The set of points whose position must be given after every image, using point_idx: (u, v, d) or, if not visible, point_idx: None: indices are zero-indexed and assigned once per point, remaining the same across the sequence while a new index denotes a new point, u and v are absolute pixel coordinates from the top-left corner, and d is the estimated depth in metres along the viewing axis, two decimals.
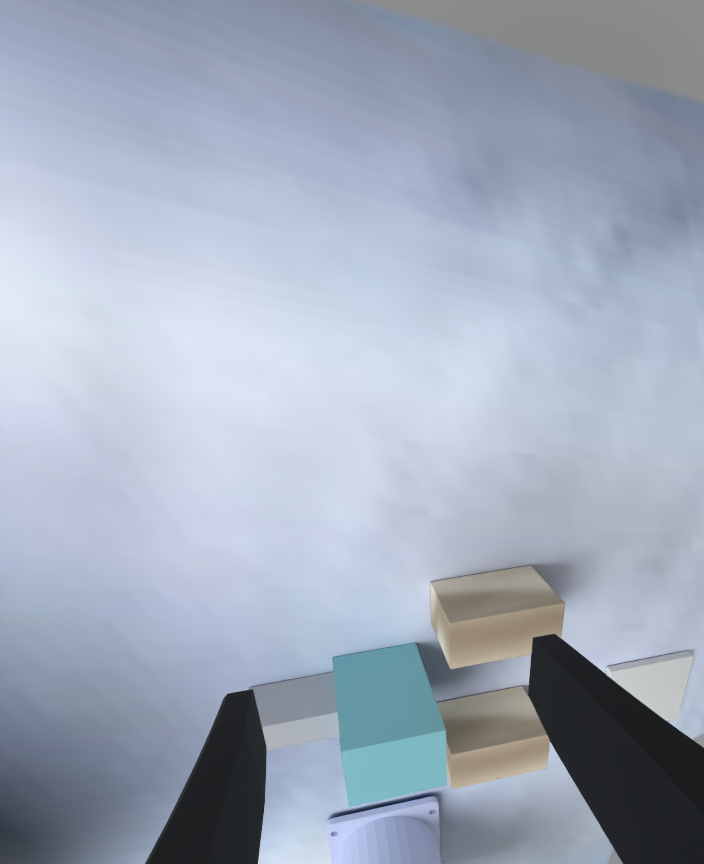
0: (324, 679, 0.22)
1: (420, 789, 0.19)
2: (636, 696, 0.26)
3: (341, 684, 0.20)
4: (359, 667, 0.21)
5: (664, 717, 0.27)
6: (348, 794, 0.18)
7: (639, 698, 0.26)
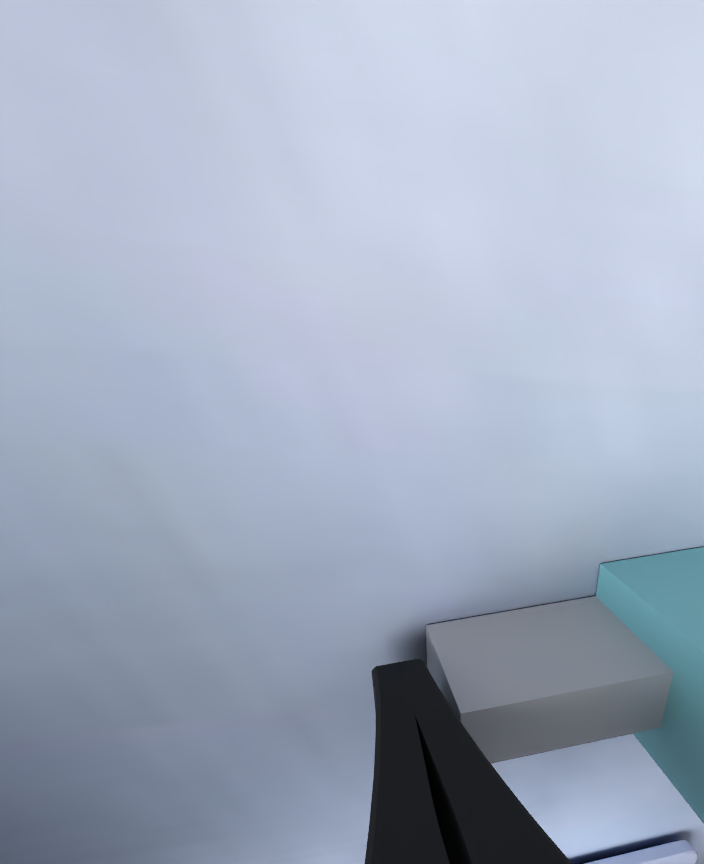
0: (585, 609, 0.10)
1: None
2: None
3: (670, 608, 0.09)
4: (680, 578, 0.10)
5: None
6: None
7: None
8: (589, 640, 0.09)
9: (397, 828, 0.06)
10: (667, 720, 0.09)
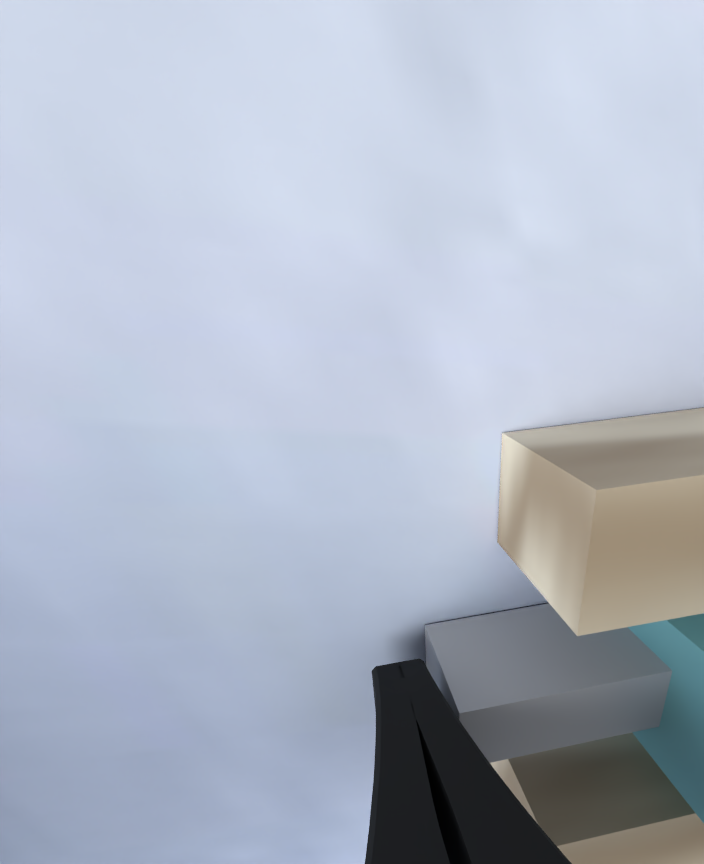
0: None
1: None
2: None
3: None
4: None
5: None
6: None
7: None
8: (588, 639, 0.09)
9: (398, 828, 0.06)
10: (666, 719, 0.09)
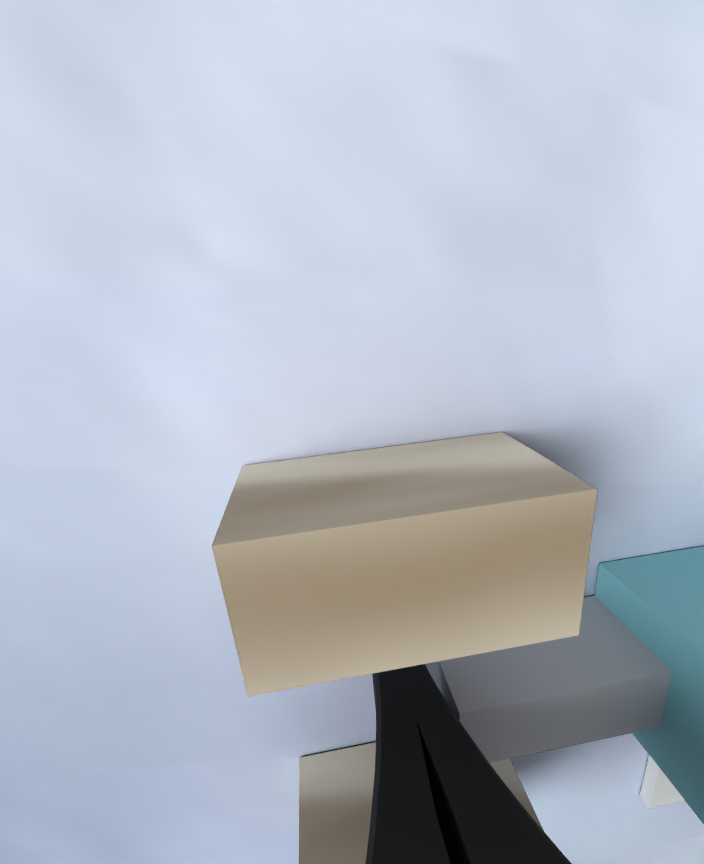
0: (584, 608, 0.10)
1: None
2: None
3: (668, 608, 0.09)
4: (679, 577, 0.10)
5: None
6: None
7: None
8: (588, 640, 0.09)
9: (398, 828, 0.06)
10: (666, 719, 0.09)
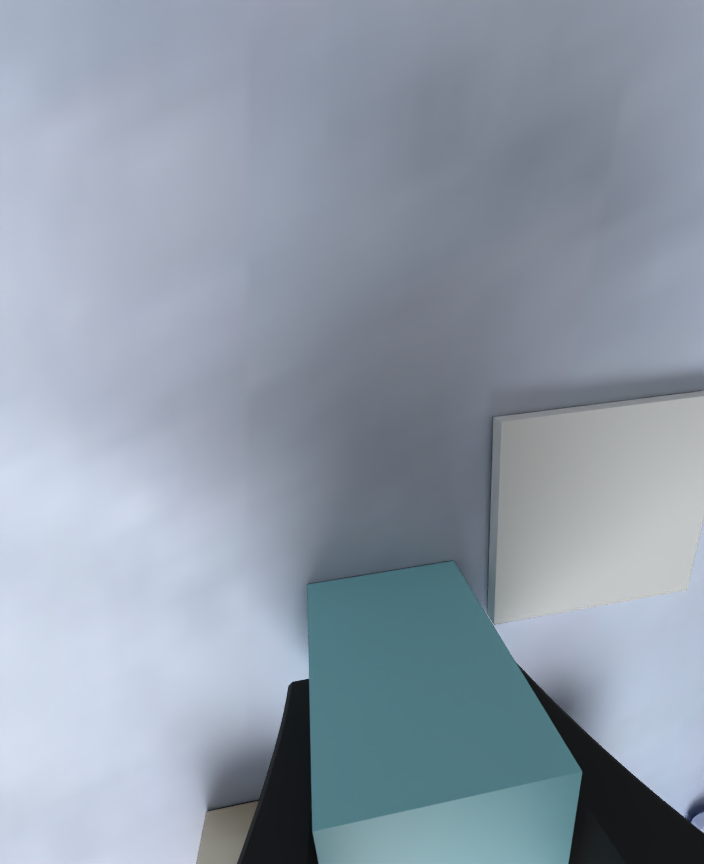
0: None
1: (571, 823, 0.06)
2: (596, 542, 0.10)
3: None
4: None
5: None
6: None
7: (606, 532, 0.10)
8: None
9: (265, 858, 0.06)
10: None
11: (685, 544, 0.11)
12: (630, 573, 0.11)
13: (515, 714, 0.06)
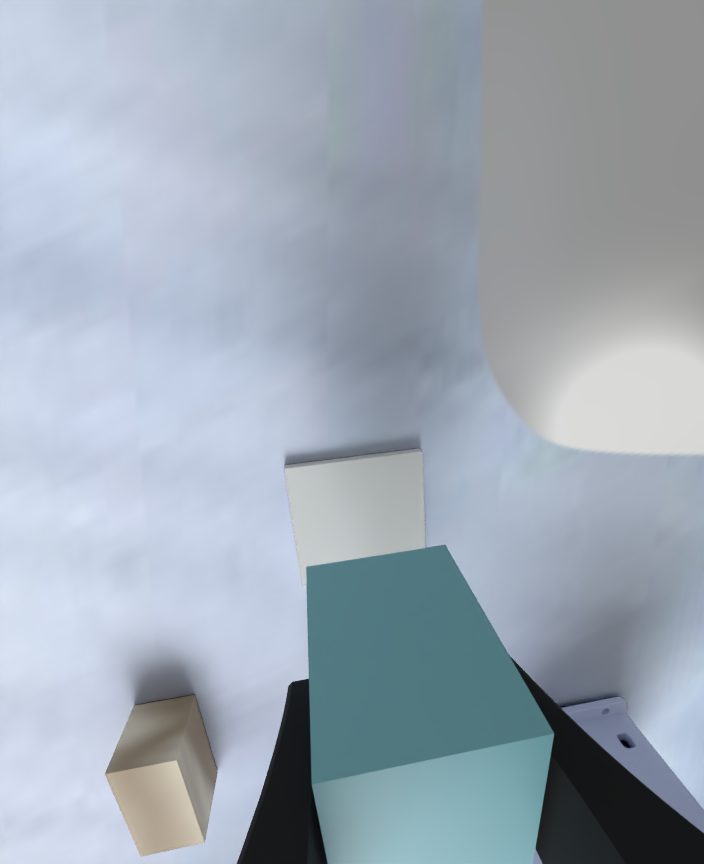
0: None
1: (544, 779, 0.07)
2: (357, 536, 0.17)
3: None
4: None
5: (414, 476, 0.17)
6: None
7: (362, 530, 0.17)
8: None
9: (266, 857, 0.06)
10: None
11: (417, 538, 0.18)
12: None
13: (496, 684, 0.07)
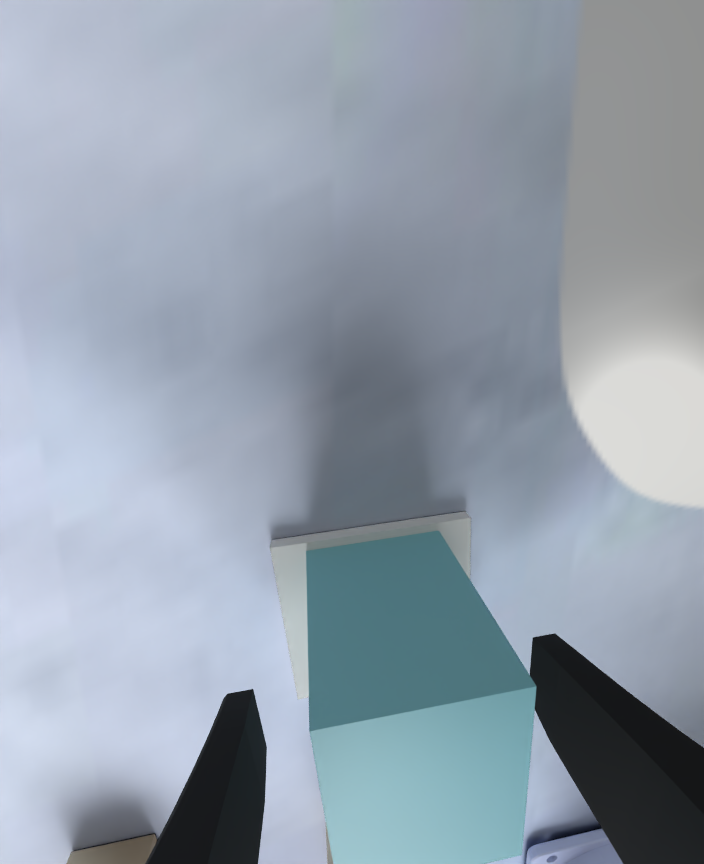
0: None
1: (530, 736, 0.07)
2: None
3: None
4: None
5: (457, 551, 0.12)
6: (480, 863, 0.08)
7: None
8: None
9: None
10: None
11: None
12: None
13: (484, 646, 0.07)
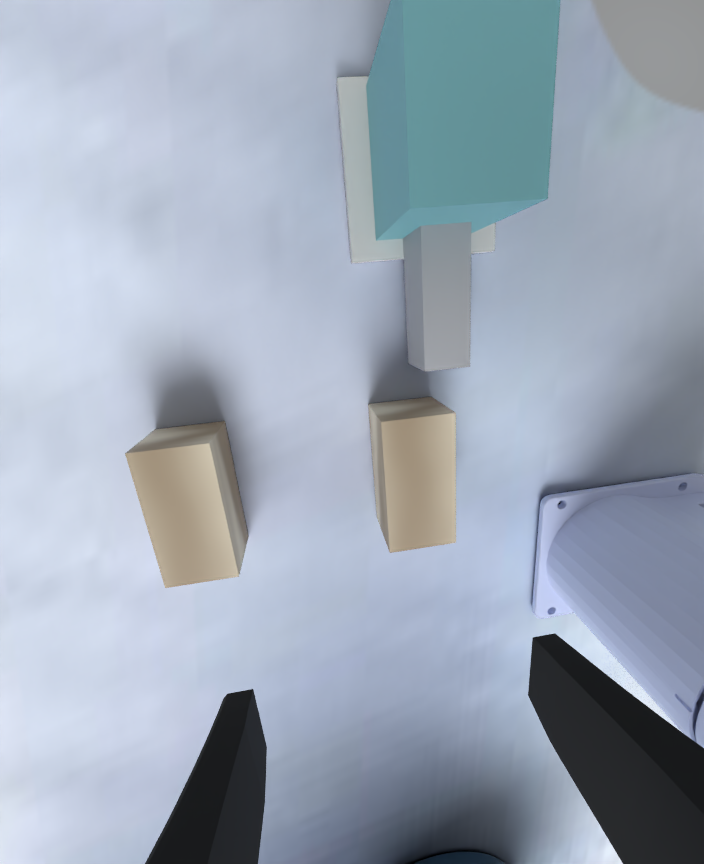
0: (405, 253, 0.15)
1: (557, 34, 0.10)
2: None
3: (384, 220, 0.13)
4: (377, 191, 0.14)
5: None
6: (516, 198, 0.11)
7: None
8: (413, 267, 0.14)
9: None
10: (460, 222, 0.13)
11: None
12: None
13: None
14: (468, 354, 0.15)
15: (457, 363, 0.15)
